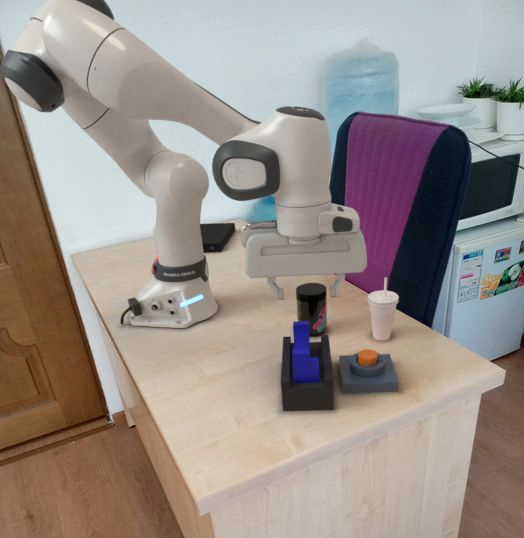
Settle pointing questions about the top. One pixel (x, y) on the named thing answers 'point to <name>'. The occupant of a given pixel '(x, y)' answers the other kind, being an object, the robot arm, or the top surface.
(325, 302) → the supplement container
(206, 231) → the external hard drive
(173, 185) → the robot arm
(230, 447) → the top surface
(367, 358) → the button
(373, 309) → the smoothie
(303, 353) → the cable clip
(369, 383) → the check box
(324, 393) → the inspection stand
